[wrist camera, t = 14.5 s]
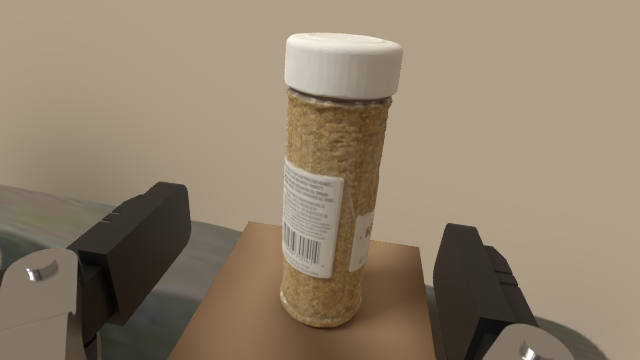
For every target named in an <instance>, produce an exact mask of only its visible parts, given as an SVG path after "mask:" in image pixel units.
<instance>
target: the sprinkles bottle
mask: <svg viewBox="0 0 640 360" xmlns="http://www.w3.org/2000/svg"><path fill="white" fill-rule="evenodd" d="M402 55H403V51H402V47H401V46H400V45H399V44H397V43H395V42H392V41H388V40H383V39H379V38H374V37H368V36H360V35H351V34H339V33H302V34H295V35H292V36H290V37H289V38H288V40H287V43H286V57H285V83H286V84H287V85H288V86H289V87H290V88H289V89H287V90H286V92H287V95H288V98H289V104H288V105H289V106H288V128H287V146H286V152H285V169H284V197H283V233H282V250H283V254H284V257H283V281H282V284H281V286H280V300H281V304H282V305H283V307H284V309H285V310H286V311H287V312H288V313H289V314H290V315H291V316H292V317H293V318H294V319H296V320H298V321H300V322H301V323H303V324H306V325H309V326H313V327H336V326H338V325H340V324H343V323H345V322H347V321H348V320H350V319H351V317H352V316H354V315H355V314H356V313H357V311H358V310H359V308H360V305H361V302H362V289H361V287H362V281H363V274H364V267H365V261H366V259H367V256H368V250H369V244H370V236H371V230H372V224H373V217H374V210H375V204H376V197H377V191H378V182H379V167H380V161H381V157H382V150H383V144H384V138H385V131H386V121H387V118H388V109H389V107H390V106H391V103H392V97H391V96H392V95H394V94H395V93H396V92H397V89H398V83H399V77H400V70H401V62H402Z"/></svg>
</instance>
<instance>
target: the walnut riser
mask: <svg viewBox="0 0 640 360" xmlns="http://www.w3.org/2000/svg"><path fill="white" fill-rule="evenodd" d="M282 233H283V227H282V226H275V225H268V224H262V223H256V222H248V224H247V226H246V228H245V229H244V231H243V232H242V234H241V236H240V238H239V239H238V241H237V243H236V244H235V246H234V248H233V249H232V251H231V253H230V254H229V256H228V258H227V259H226V261H225V263H224V265H223V266H222V268H221V270H220V271H219V273H218V275H217V276H216V278H215V280H214V281H213V283H212V285H211V286H210V288H209V290H208V292H207V293H206V295H205V297H204V298H203V300H202V302H201V303H200V305H199V307H198V308H197V310H196V312H195V313H194V315H193V317H192V319H191V320H190V322H189V324H188V325H187V327H186V329H185V330H184V332H183V334H182V335H181V337H180V339H179V341H178V342H177V344H176V346H175V347H174V349H173V351H172V352H171V354H170V356H169V357H168V359H167V360H436V358H435V351H434V344H433V338H432V331H431V324H430V318H429V311H428V304H427V298H426V291H425V284H424V278H423V271H422V264H421V258H420V251H419V247H414V246H407V245H400V244H394V243H387V242H381V241H374V240H370V244H369V250H368V256H367V259H366V261H365V267H364V274H363V281H362V287H361V289H362V302H361V305H360V308H359V310H358V311H357V313H356V314H355V315H354V316H352V317H351V319H350V320H348V321H347V322H345V323H343V324H340V325H338V326H336V327H313V326H309V325H306V324H303V323H301V322H300V321H298V320H296V319H294V318H293V317H292V316H291V315H290V314H289V313H288V312H287V311H286V310H285V309H284V307H283V305H282V304H281V300H280V286H281V284H282V281H283V257H284V254H283V250H282Z"/></svg>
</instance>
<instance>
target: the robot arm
mask: <svg viewBox="0 0 640 360" xmlns="http://www.w3.org/2000/svg"><path fill="white" fill-rule="evenodd" d="M190 234H191V220H190V210H189V200H188V191H187V188H186V186H185V185H182V184H174V183H168V182H158V183H157V184H155V185H154V186H153V187H152V188H150V189H149V190H148V191H147V192H146V193H145V194H143V195H138V196H136V197H134V198H131V199H129V200H127V201H125V202H123V203H122V204H121V205H119V206H118V207H117V208H116V209H114V210H113V211H112V214H111V213H109V214H108V215H107V216H106V217H104V218H103V219H102V222H100V221H99V222H98V223H97V224H96V225H94V226H93V227H92V228H91V229H89V230H88V231H87V232H86V233H84V234H83V235H82V236H81V237H79V238H78V239H77V240H76V241H74V242H73V243H72V244H71V245H69V246H68V247H67V248H66V249H63V248H53V249H46V250H41V251H38V252H34V253H32V254H29V255H27V256H25V257H23V258H21V259H19V260H18V261H16V262H15V263H13V264H12V265H11V266H10V267H9V268H8V269H7V270H0V360H101V339H100V334H99V330H100V329H101V327H102V326H103V325H104V324H105V323H109V324H114V325H120V326H124V325H125V324H126V322H127V321H128V320H129V318H130V317H131V316H132V315H133V313H134V312H135V311H136V309H137V308H138V307H139V306H140V304H141V303H142V302H143V300H144V299H145V298H146V297H147V295H148V294H149V293H150V291H151V290H152V289H153V288H154V286H155V285H156V284H157V282H158V281H159V280H160V279H161V277H162V276H163V275H164V273H165V272H166V271H167V270H168V268H169V267H170V266H171V264H172V263H173V262H174V261H175V259H176V258H177V257H178V255H179V254H180V253H181V252H182V250H183V249H184V248H185V246H186V245H187V243H188V241H189V238H190ZM433 286H434V291H435V296H436V302H437V307H438V312H439V317H440V323H441V328H442V333H443V339H444V344H445V349H446V354H447V360H574V358H573V356H572V354H571V353H570V351H569V350H568V349H567V348H566V347H565V346H564V345H563V344H562V343H561V342H560V341H559V340H558V339H556V338H555V337H554V336H552V335H551V334H549V333H547V332H546V331H544V330H542V329H540V328H539V326H538V324H537V322H536V320H535V318H534V316H533V314H532V312H531V310H530V308H529V306H528V304H527V302H526V300H525V298H524V296H523V293H522V292H521V289H520V288H519V287H518V283H517V281H516V279H515V277H514V276H512V271H511V269H510V267H509V265H508V263H507V261H506V259H505V258H504V257H503V256H502V255H501V254H500V253H499V252H498V251H497V250H496V249H494V247H492V246H484V245H483V243H482V240H481V238H480V236H479V233H478V231H477V229H476V227H472V226H465V225H458V224H451V223H448V224H447V225H446V228H445V230H444V234H443V237H442V241H441V245H440V248H439V251H438V255H437V258H436V262H435V266H434V272H433Z"/></svg>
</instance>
